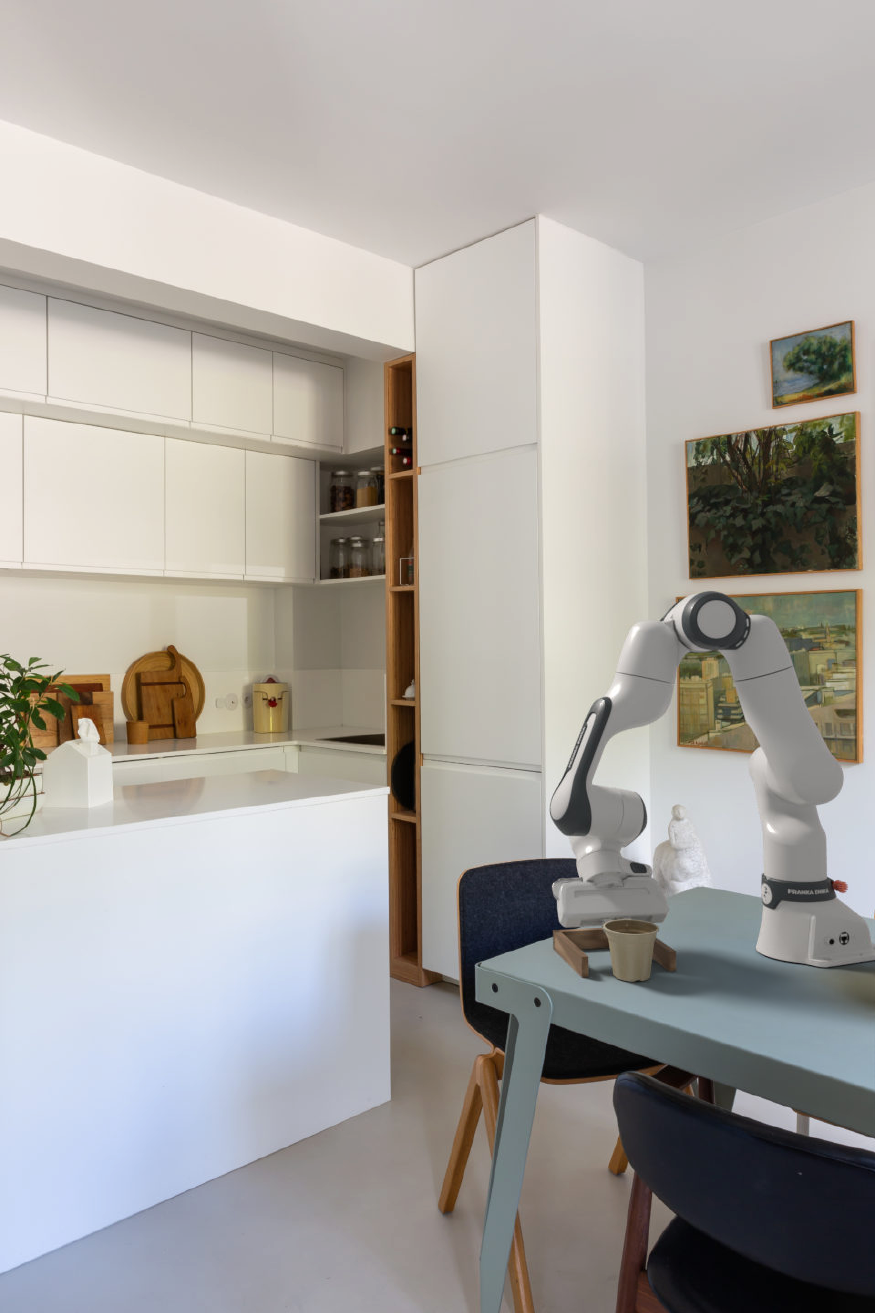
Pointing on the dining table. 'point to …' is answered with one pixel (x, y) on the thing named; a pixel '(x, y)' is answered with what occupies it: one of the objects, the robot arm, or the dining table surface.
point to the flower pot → (631, 948)
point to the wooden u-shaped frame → (577, 939)
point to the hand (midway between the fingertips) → (622, 944)
